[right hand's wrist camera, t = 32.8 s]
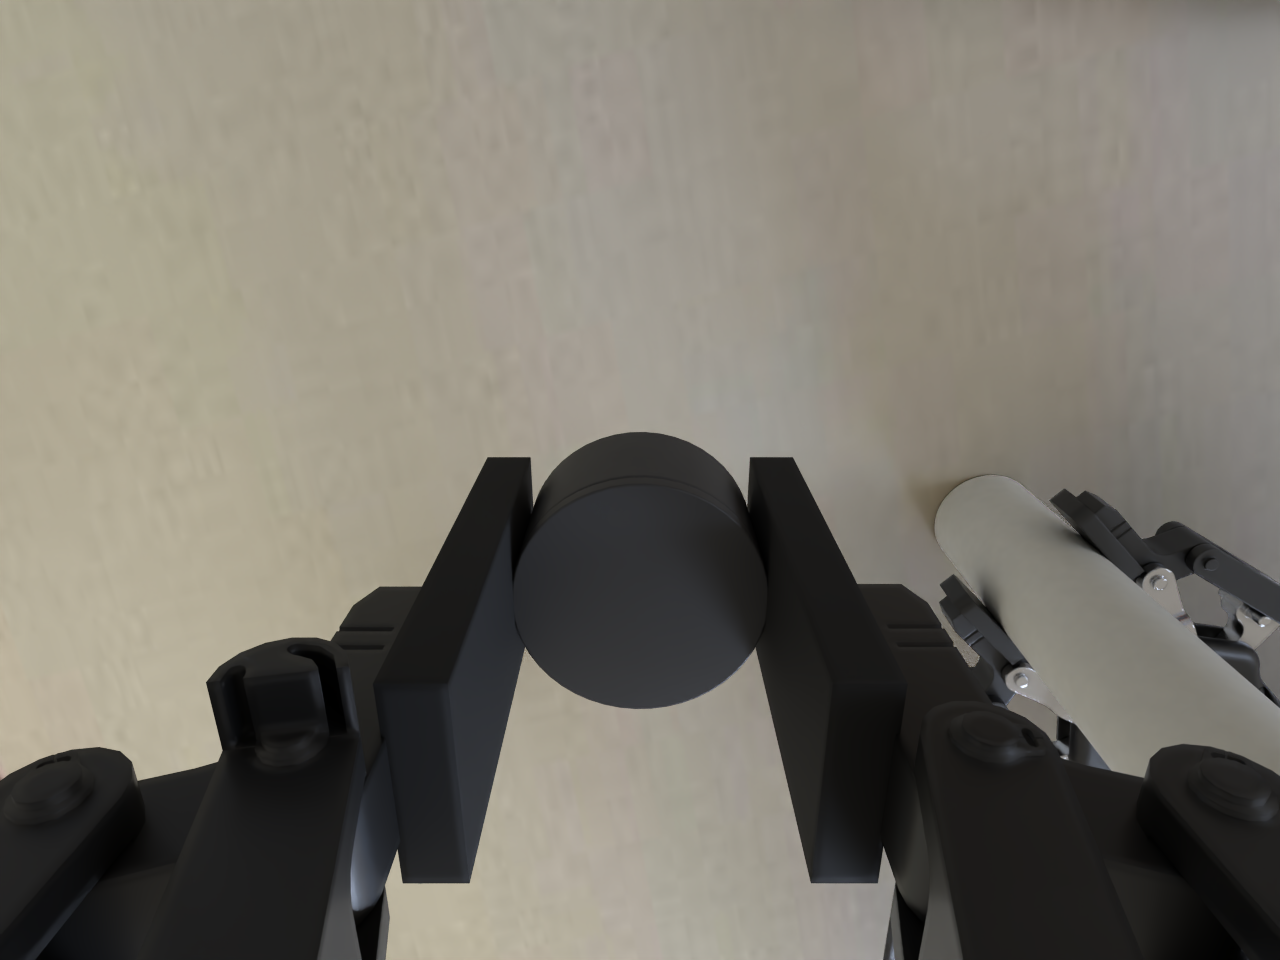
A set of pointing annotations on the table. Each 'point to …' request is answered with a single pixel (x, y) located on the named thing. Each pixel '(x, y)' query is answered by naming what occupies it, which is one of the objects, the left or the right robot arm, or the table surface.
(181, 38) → the table surface
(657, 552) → the cap
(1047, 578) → the bottle
